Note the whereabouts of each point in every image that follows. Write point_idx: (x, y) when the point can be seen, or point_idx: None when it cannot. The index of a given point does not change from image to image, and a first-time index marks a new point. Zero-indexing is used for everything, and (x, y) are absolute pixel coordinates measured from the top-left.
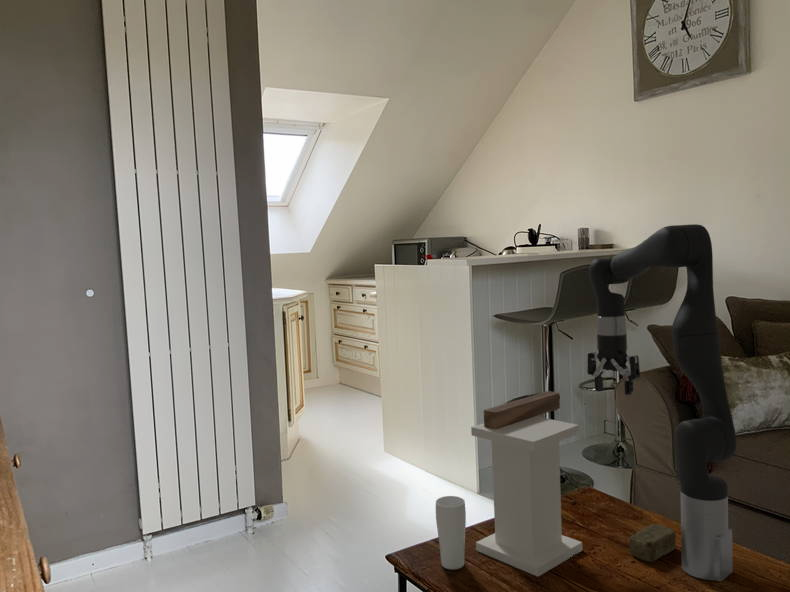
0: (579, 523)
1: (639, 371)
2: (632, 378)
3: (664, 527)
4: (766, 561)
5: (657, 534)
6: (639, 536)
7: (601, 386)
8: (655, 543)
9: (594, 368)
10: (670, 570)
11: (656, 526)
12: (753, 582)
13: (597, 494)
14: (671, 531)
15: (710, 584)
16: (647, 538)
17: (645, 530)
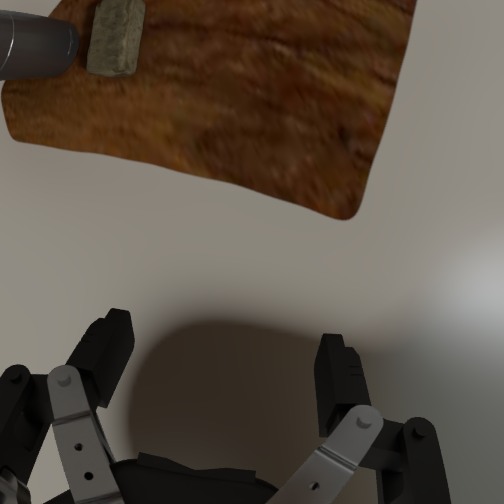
0: (281, 48)
1: (16, 433)
2: (25, 371)
3: (102, 67)
4: (21, 133)
5: (100, 34)
6: (118, 3)
7: (319, 375)
8: (95, 11)
9: (389, 481)
10: (86, 12)
11: (111, 58)
12: None
13: (322, 205)
14: (89, 63)
15: None
16: (107, 10)
17: (119, 29)
